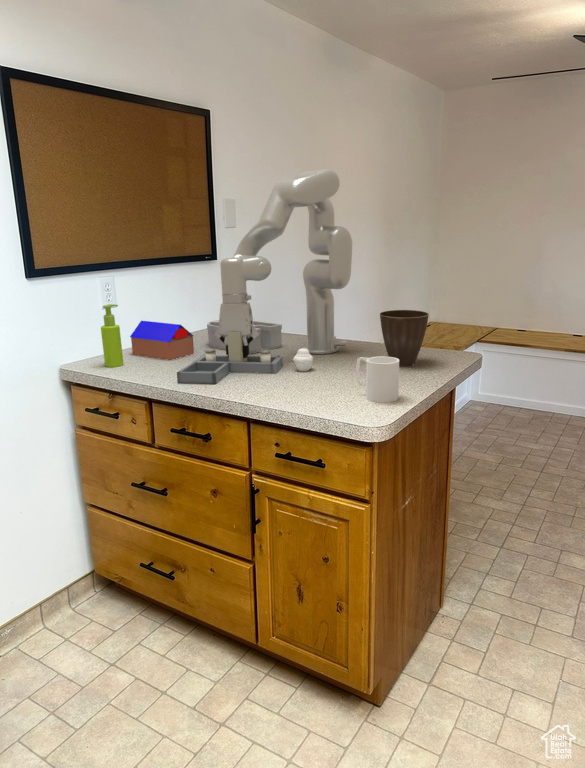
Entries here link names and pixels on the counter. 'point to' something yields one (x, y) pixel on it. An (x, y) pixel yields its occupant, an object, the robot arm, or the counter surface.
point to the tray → (203, 372)
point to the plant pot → (403, 334)
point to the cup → (380, 378)
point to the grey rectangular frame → (249, 364)
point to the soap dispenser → (111, 340)
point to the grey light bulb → (210, 354)
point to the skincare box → (235, 347)
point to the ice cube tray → (266, 338)
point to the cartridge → (265, 355)
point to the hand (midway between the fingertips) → (237, 356)
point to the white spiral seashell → (303, 360)
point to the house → (161, 340)
